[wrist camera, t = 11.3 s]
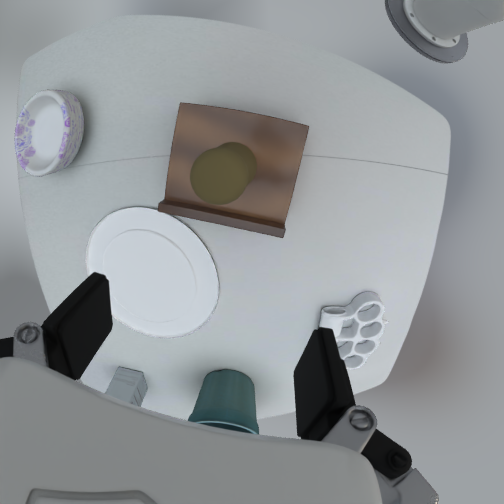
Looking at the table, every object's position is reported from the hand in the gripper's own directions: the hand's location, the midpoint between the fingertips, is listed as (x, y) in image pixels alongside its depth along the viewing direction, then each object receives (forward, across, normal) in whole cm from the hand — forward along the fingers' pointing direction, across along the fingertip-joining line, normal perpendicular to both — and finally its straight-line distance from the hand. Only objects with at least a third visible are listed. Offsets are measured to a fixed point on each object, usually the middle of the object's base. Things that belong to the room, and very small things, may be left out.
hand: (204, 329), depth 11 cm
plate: (+32, +15, +20) cm, 41 cm away
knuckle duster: (+33, -26, +22) cm, 47 cm away
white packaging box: (+33, +20, +54) cm, 66 cm away
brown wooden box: (+33, +3, -4) cm, 33 cm away
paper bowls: (+33, +37, -5) cm, 49 cm away
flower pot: (+33, -5, +45) cm, 56 cm away
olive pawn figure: (+25, +3, -4) cm, 25 cm away
